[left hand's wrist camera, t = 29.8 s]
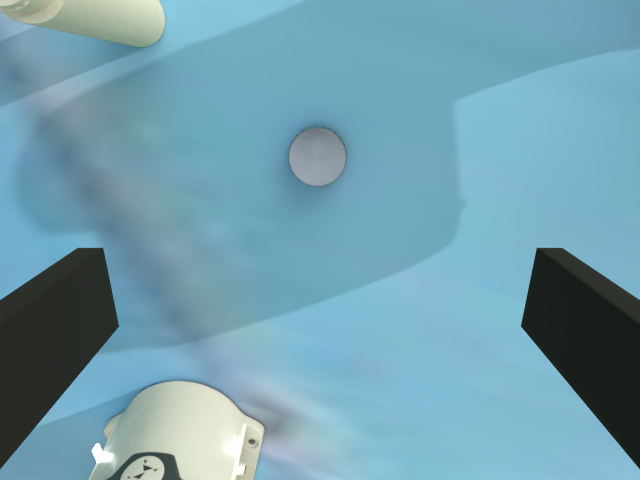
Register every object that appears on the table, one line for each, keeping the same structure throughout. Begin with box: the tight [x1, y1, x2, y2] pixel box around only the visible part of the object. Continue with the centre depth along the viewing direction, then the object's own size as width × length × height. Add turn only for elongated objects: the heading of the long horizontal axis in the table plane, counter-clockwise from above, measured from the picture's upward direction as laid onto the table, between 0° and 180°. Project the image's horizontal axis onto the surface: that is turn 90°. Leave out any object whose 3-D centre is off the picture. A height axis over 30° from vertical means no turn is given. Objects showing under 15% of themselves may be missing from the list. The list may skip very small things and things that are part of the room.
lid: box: [288, 125, 347, 186], centre depth 37 cm, size 5×5×2 cm
